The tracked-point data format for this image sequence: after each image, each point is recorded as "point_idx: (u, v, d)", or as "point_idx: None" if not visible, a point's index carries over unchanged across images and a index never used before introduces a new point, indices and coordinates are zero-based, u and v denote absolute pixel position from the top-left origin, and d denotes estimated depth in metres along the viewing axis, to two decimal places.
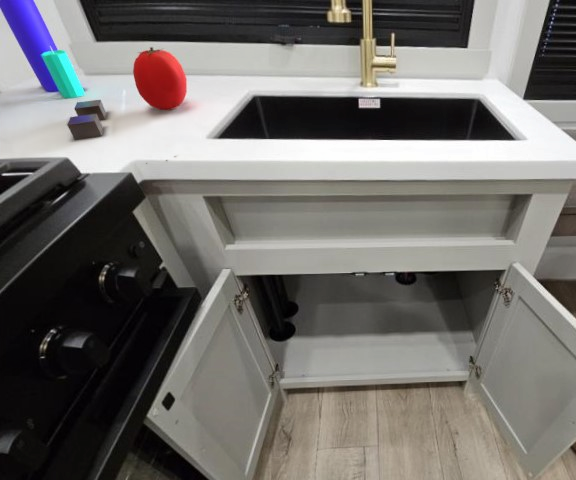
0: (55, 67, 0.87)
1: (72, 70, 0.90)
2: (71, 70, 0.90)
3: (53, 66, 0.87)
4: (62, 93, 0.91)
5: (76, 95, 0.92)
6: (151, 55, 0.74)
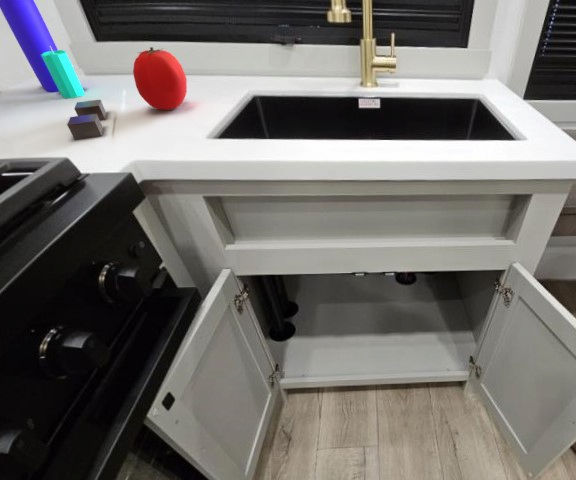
0: (55, 67, 0.87)
1: (72, 70, 0.90)
2: (71, 70, 0.90)
3: (53, 66, 0.87)
4: (62, 93, 0.91)
5: (76, 95, 0.92)
6: (151, 55, 0.74)
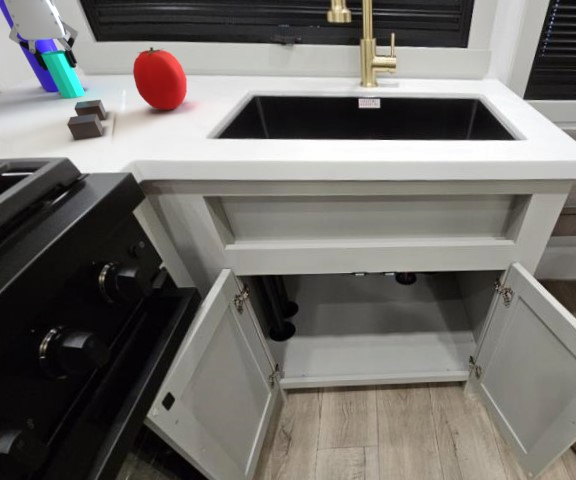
0: (55, 67, 0.87)
1: (72, 70, 0.90)
2: (71, 70, 0.90)
3: (53, 66, 0.87)
4: (62, 93, 0.91)
5: (76, 95, 0.92)
6: (151, 55, 0.74)
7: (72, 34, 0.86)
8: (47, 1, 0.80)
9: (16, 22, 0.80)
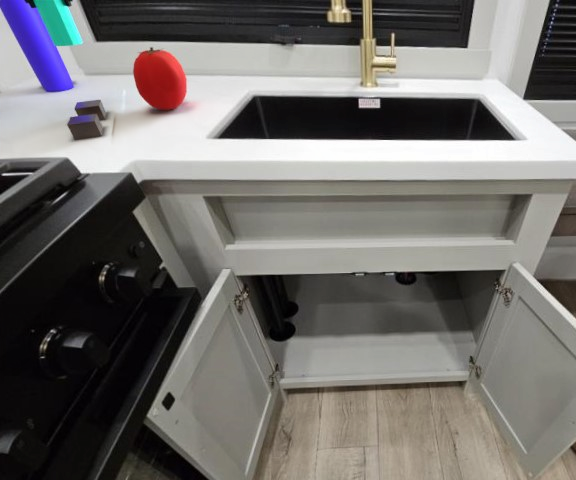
0: (45, 3, 0.69)
1: (66, 10, 0.72)
2: (65, 9, 0.71)
3: (42, 1, 0.69)
4: (54, 40, 0.73)
5: (72, 43, 0.74)
6: (151, 55, 0.74)
7: None
8: None
9: None
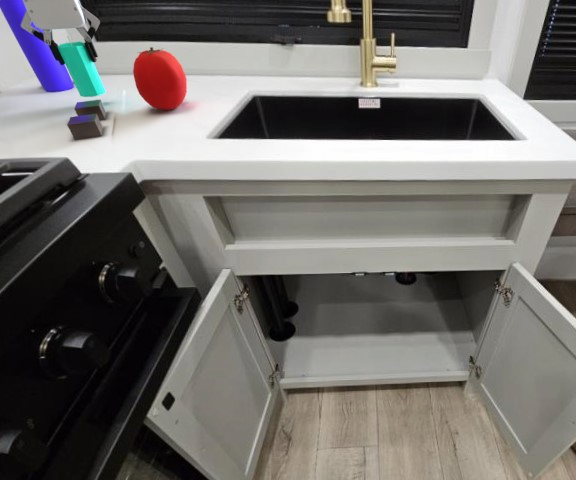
0: (73, 61, 0.75)
1: (92, 65, 0.78)
2: (91, 64, 0.78)
3: (71, 60, 0.75)
4: (80, 91, 0.80)
5: (96, 94, 0.81)
6: (151, 55, 0.74)
7: (93, 23, 0.74)
8: None
9: (29, 8, 0.68)
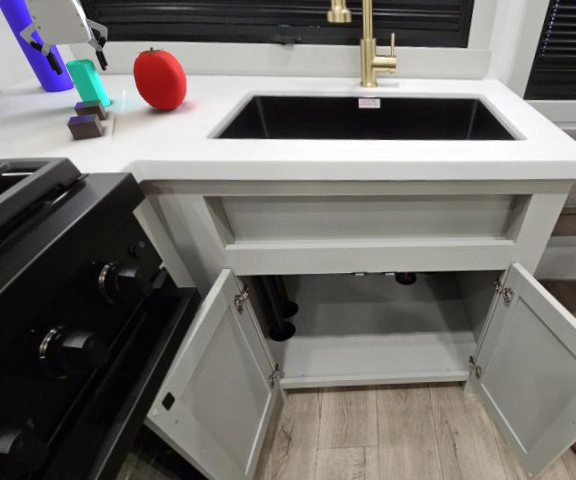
0: (81, 78, 0.78)
1: (99, 81, 0.81)
2: (98, 81, 0.80)
3: (78, 77, 0.77)
4: None
5: None
6: (151, 55, 0.74)
7: (102, 32, 0.76)
8: (73, 0, 0.70)
9: (37, 24, 0.70)
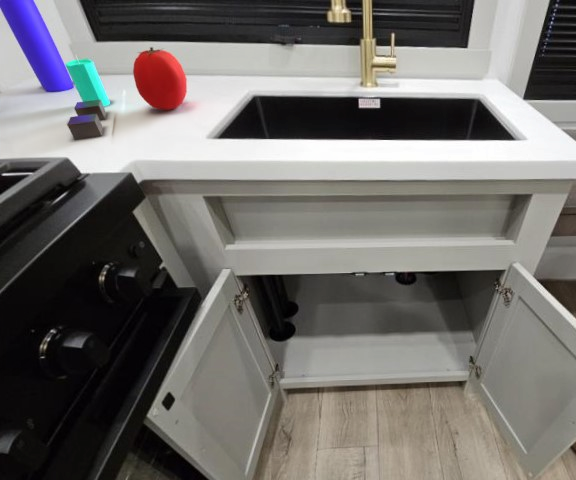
0: (81, 78, 0.78)
1: (99, 81, 0.81)
2: (98, 81, 0.80)
3: (78, 77, 0.77)
4: None
5: None
6: (151, 55, 0.74)
7: None
8: None
9: None
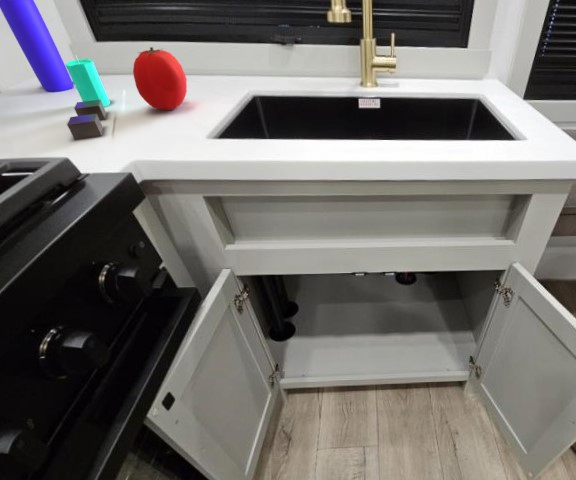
0: (81, 78, 0.78)
1: (99, 81, 0.81)
2: (98, 81, 0.80)
3: (78, 77, 0.77)
4: None
5: None
6: (151, 55, 0.74)
7: None
8: None
9: None
